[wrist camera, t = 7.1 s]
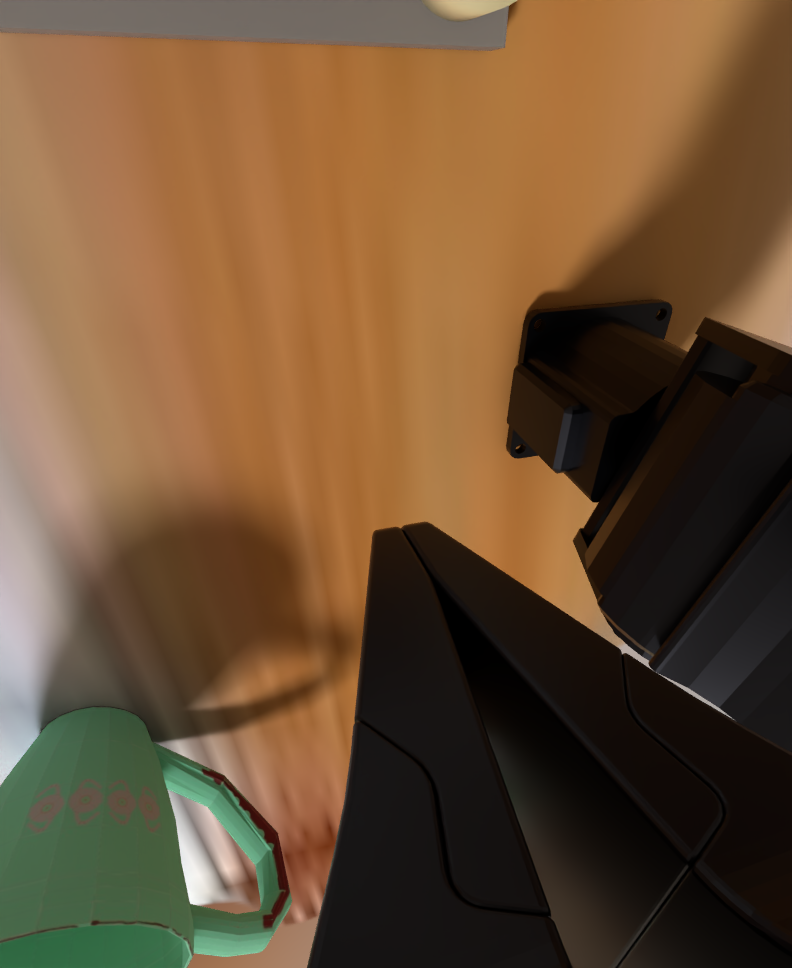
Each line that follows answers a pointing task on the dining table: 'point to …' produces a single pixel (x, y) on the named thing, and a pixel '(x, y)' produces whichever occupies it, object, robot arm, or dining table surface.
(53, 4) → the stand
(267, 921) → the mug
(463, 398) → the dining table surface
